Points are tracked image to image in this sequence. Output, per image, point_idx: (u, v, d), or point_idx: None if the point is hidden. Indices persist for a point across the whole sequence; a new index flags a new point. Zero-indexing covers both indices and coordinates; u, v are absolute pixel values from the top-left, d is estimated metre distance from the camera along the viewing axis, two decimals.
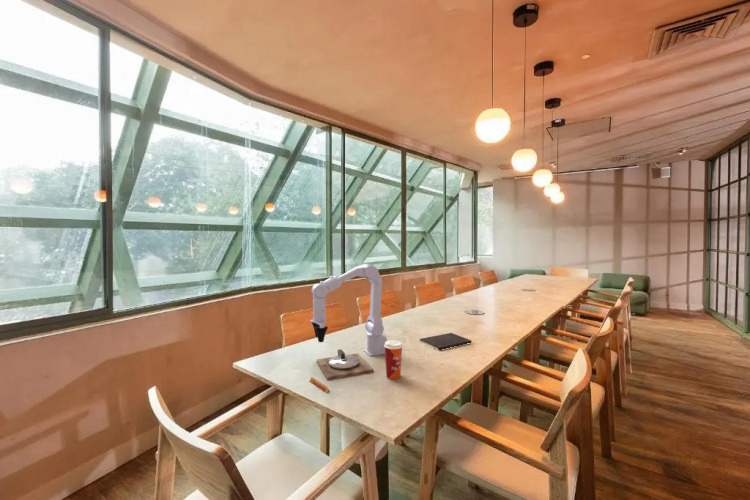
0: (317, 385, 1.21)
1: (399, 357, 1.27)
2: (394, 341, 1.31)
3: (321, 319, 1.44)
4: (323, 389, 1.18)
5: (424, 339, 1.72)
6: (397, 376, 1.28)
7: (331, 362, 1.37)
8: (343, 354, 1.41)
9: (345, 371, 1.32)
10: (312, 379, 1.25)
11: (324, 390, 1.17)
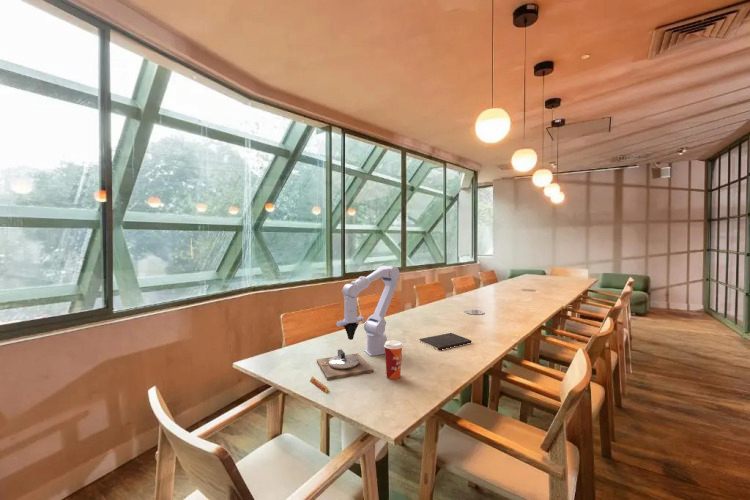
0: (317, 385, 1.21)
1: (399, 357, 1.27)
2: (394, 341, 1.31)
3: (346, 319, 1.45)
4: (323, 389, 1.18)
5: (424, 339, 1.72)
6: (397, 376, 1.28)
7: (331, 362, 1.37)
8: (343, 354, 1.41)
9: (345, 371, 1.32)
10: (312, 379, 1.25)
11: (323, 390, 1.17)
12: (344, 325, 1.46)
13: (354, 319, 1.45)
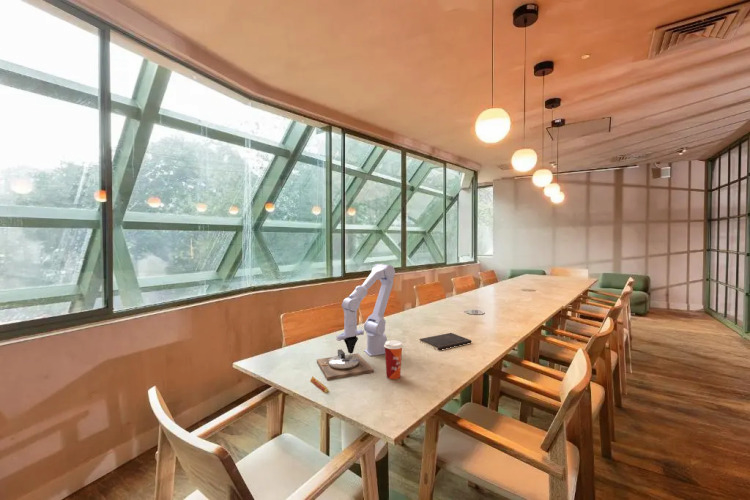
0: (317, 385, 1.21)
1: (399, 357, 1.27)
2: (394, 341, 1.31)
3: (346, 333, 1.45)
4: (322, 389, 1.18)
5: (424, 339, 1.72)
6: (397, 376, 1.28)
7: (331, 362, 1.37)
8: (343, 354, 1.41)
9: (345, 371, 1.32)
10: (313, 379, 1.25)
11: (323, 390, 1.17)
12: (344, 339, 1.46)
13: (354, 333, 1.45)
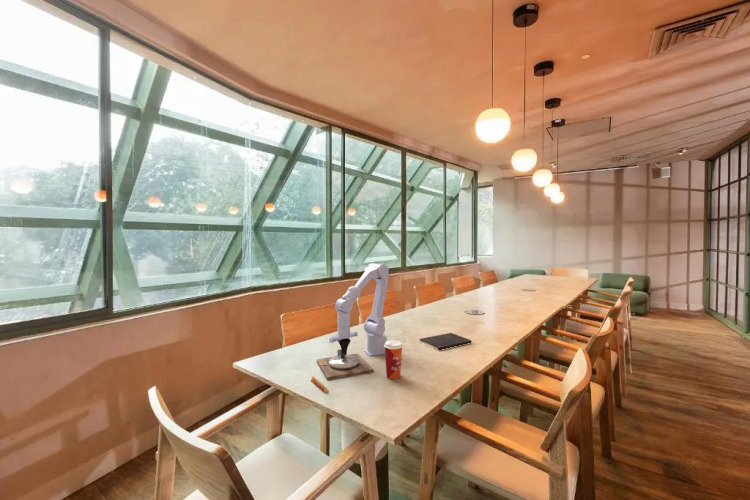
0: (317, 385, 1.21)
1: (399, 357, 1.27)
2: (394, 341, 1.31)
3: (339, 335, 1.42)
4: (322, 389, 1.18)
5: (424, 339, 1.72)
6: (397, 376, 1.28)
7: (331, 362, 1.37)
8: (343, 354, 1.41)
9: (345, 371, 1.32)
10: (313, 379, 1.25)
11: (323, 390, 1.17)
12: (338, 340, 1.44)
13: (347, 335, 1.43)
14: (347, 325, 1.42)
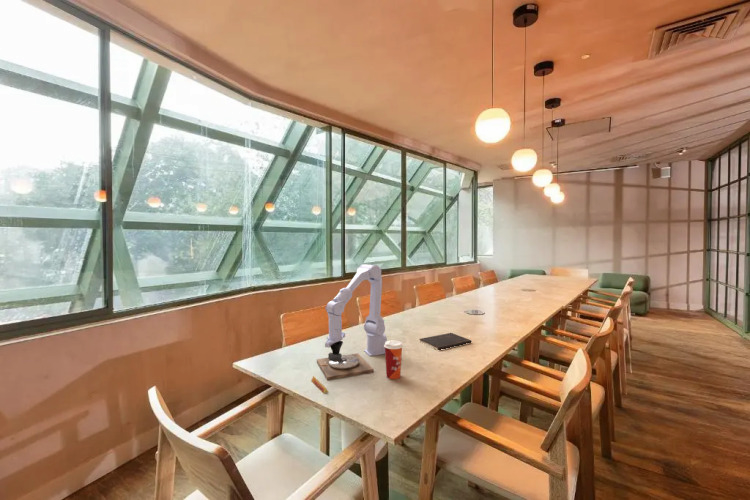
0: (317, 385, 1.21)
1: (399, 357, 1.27)
2: (394, 341, 1.31)
3: (333, 338, 1.39)
4: (322, 389, 1.18)
5: (424, 339, 1.72)
6: (397, 376, 1.28)
7: (339, 365, 1.34)
8: (340, 355, 1.40)
9: (345, 371, 1.32)
10: (313, 379, 1.25)
11: (322, 390, 1.17)
12: (330, 344, 1.40)
13: (341, 337, 1.41)
14: (339, 328, 1.39)
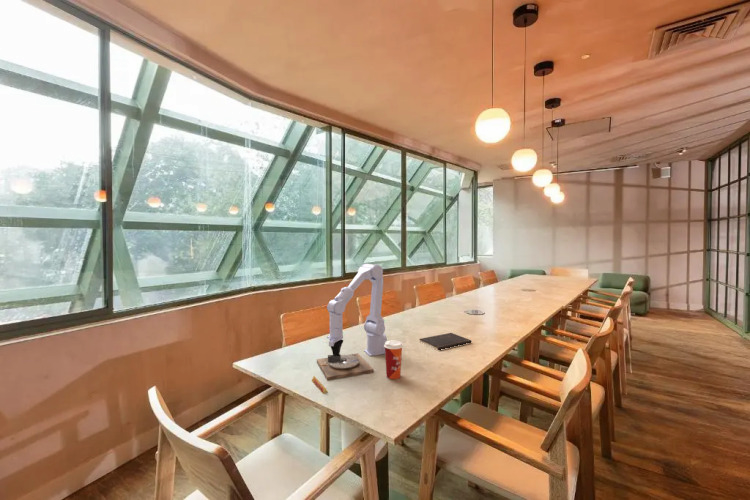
0: (317, 385, 1.21)
1: (399, 357, 1.27)
2: (394, 341, 1.31)
3: (335, 337, 1.39)
4: (321, 389, 1.18)
5: (424, 339, 1.72)
6: (397, 376, 1.28)
7: (346, 365, 1.34)
8: None
9: (345, 371, 1.32)
10: (314, 378, 1.25)
11: (322, 390, 1.17)
12: None
13: (342, 335, 1.42)
14: (339, 327, 1.40)
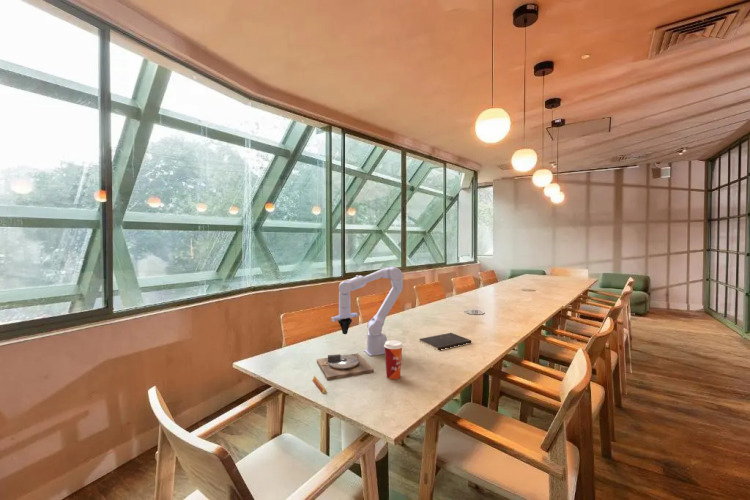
0: (317, 385, 1.21)
1: (399, 357, 1.27)
2: (394, 341, 1.31)
3: (341, 315, 1.52)
4: (321, 389, 1.18)
5: (424, 339, 1.72)
6: (397, 376, 1.28)
7: (346, 365, 1.34)
8: None
9: (345, 371, 1.32)
10: (314, 378, 1.25)
11: (321, 391, 1.17)
12: (338, 320, 1.54)
13: (348, 315, 1.53)
14: (344, 306, 1.52)
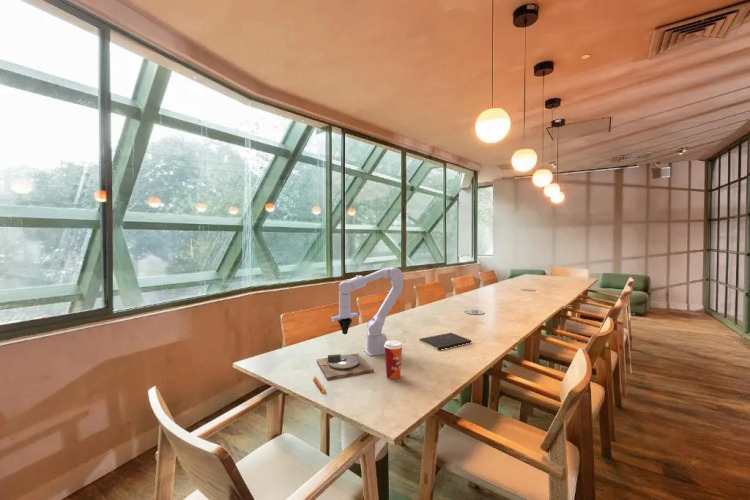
0: (317, 385, 1.21)
1: (399, 357, 1.27)
2: (394, 341, 1.31)
3: (341, 315, 1.52)
4: (320, 390, 1.18)
5: (424, 339, 1.72)
6: (397, 376, 1.28)
7: (346, 365, 1.34)
8: None
9: (345, 371, 1.32)
10: (315, 378, 1.26)
11: (321, 391, 1.17)
12: (338, 320, 1.54)
13: (348, 315, 1.53)
14: (344, 306, 1.52)
